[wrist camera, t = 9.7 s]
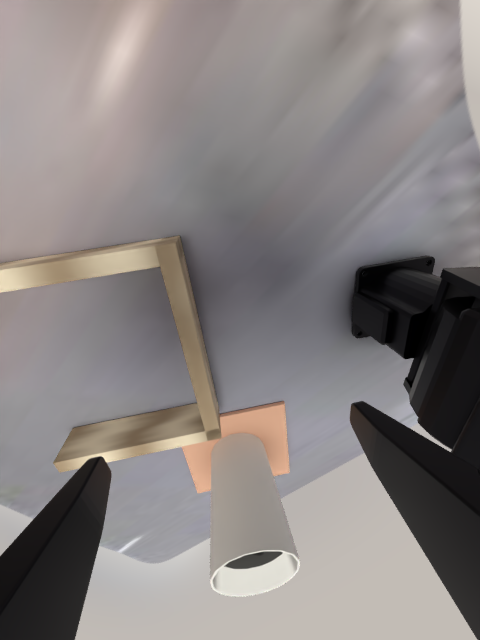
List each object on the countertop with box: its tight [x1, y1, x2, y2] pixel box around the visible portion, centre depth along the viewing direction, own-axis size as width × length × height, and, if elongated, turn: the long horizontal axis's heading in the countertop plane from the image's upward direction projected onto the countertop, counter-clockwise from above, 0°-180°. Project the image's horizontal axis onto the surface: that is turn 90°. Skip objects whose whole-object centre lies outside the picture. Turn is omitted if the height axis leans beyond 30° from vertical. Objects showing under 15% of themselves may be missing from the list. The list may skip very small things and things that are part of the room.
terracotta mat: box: [182, 401, 290, 493], centre depth 27 cm, size 11×11×1 cm
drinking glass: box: [210, 433, 300, 597], centre depth 23 cm, size 7×7×10 cm
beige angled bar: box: [0, 236, 222, 472], centre depth 19 cm, size 14×16×4 cm
